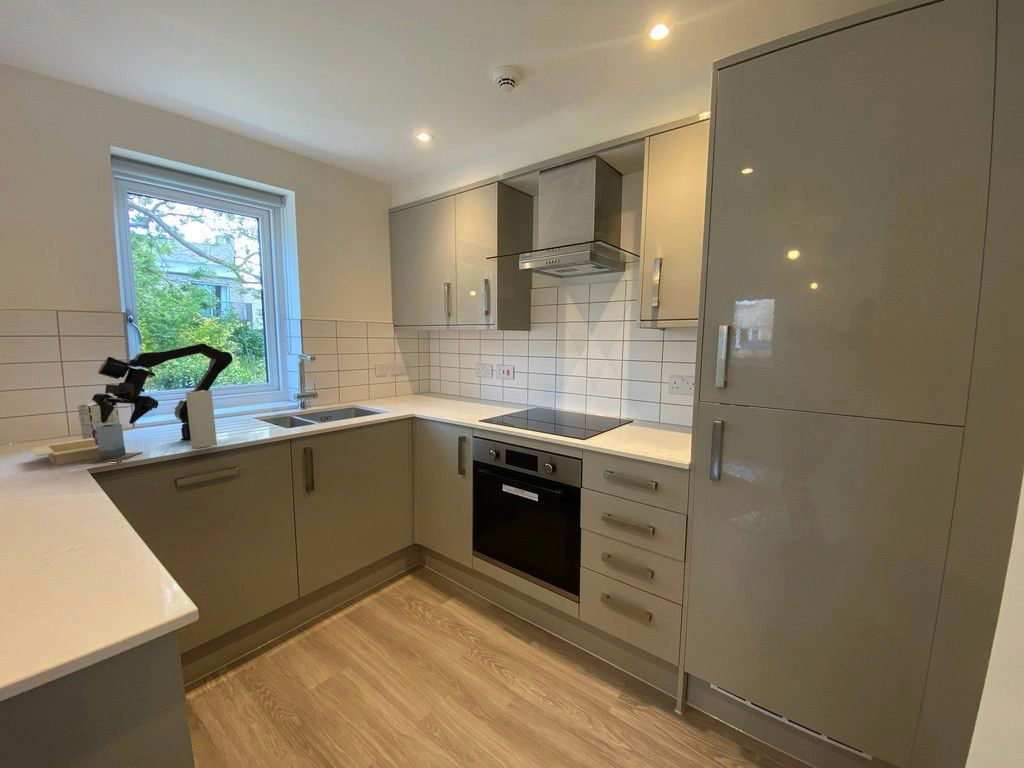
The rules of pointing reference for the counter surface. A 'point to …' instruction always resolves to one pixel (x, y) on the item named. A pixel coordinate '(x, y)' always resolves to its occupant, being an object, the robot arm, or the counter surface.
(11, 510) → the counter surface
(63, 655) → the counter surface
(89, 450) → the carton
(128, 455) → the board
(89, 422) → the candy bar box
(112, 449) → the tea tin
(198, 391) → the tall white block
